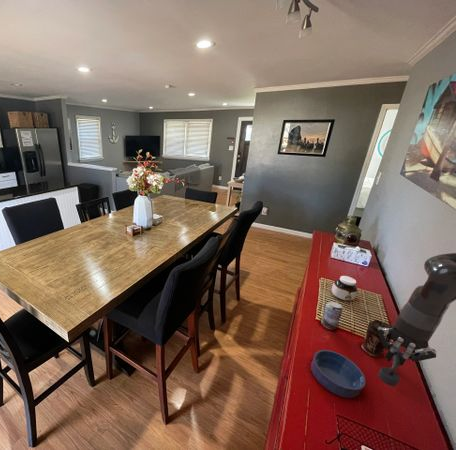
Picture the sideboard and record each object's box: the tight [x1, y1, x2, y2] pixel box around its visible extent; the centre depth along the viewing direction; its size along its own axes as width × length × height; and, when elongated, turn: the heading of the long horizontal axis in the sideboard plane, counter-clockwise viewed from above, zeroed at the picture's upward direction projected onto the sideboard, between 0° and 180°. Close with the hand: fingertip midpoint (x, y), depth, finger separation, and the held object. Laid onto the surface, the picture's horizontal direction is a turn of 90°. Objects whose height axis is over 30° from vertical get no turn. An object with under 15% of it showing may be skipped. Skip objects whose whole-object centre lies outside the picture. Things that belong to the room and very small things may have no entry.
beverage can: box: [320, 301, 343, 330], centre depth 109 cm, size 6×7×12 cm
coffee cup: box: [361, 319, 393, 357], centre depth 97 cm, size 9×8×13 cm
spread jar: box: [331, 275, 358, 302], centre depth 130 cm, size 12×11×12 cm
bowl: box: [310, 349, 366, 399], centre depth 87 cm, size 15×15×5 cm
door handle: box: [377, 346, 402, 387], centre depth 76 cm, size 15×4×7 cm, turn 134°
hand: (392, 361), depth 76 cm, fingers closed on door handle, 1 cm apart
